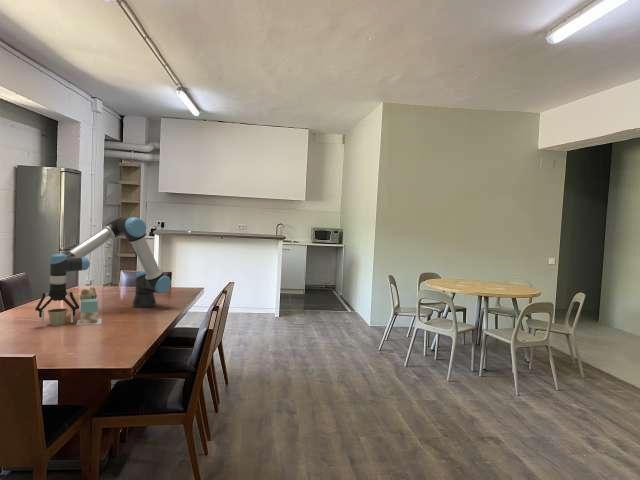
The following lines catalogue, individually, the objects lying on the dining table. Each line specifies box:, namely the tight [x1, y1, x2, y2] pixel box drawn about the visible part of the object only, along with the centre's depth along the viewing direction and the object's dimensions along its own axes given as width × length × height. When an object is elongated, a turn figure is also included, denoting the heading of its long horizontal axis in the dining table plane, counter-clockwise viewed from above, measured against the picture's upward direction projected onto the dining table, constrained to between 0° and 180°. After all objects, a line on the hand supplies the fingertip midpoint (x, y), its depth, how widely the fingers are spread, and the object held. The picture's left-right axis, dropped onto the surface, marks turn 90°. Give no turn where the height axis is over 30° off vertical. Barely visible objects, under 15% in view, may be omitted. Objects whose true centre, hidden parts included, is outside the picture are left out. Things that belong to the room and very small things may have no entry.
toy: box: [79, 286, 98, 301], centre depth 272 cm, size 10×8×15 cm
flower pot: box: [47, 308, 69, 327], centre depth 237 cm, size 9×9×9 cm
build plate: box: [76, 318, 102, 326], centre depth 245 cm, size 12×12×1 cm
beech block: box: [80, 309, 99, 325], centre depth 245 cm, size 8×8×6 cm
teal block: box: [80, 298, 99, 314], centre depth 245 cm, size 8×8×6 cm
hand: (57, 322), depth 237 cm, fingers open, 13 cm apart
